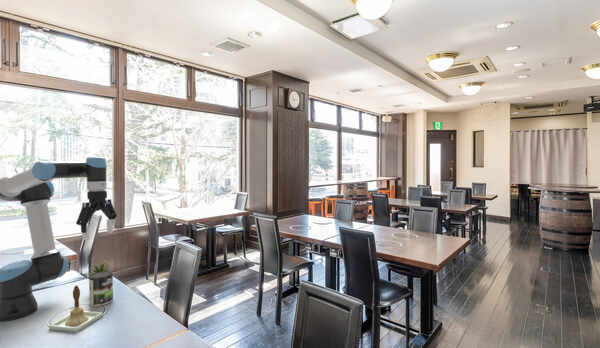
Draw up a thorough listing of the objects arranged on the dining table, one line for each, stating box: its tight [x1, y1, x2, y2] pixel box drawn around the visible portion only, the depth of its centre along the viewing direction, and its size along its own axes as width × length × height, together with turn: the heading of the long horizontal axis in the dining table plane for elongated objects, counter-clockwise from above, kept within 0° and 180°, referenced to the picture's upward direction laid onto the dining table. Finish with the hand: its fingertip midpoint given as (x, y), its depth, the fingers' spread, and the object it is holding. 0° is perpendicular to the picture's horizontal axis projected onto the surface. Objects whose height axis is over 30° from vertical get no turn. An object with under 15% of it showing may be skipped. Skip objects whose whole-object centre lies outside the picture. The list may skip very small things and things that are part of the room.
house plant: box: [84, 260, 113, 280], centre depth 168 cm, size 14×14×16 cm
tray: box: [48, 310, 104, 334], centre depth 134 cm, size 14×14×2 cm
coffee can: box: [88, 270, 114, 307], centre depth 155 cm, size 10×10×14 cm
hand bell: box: [65, 285, 88, 326], centre depth 134 cm, size 8×8×16 cm
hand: (98, 236), depth 141 cm, fingers open, 13 cm apart
